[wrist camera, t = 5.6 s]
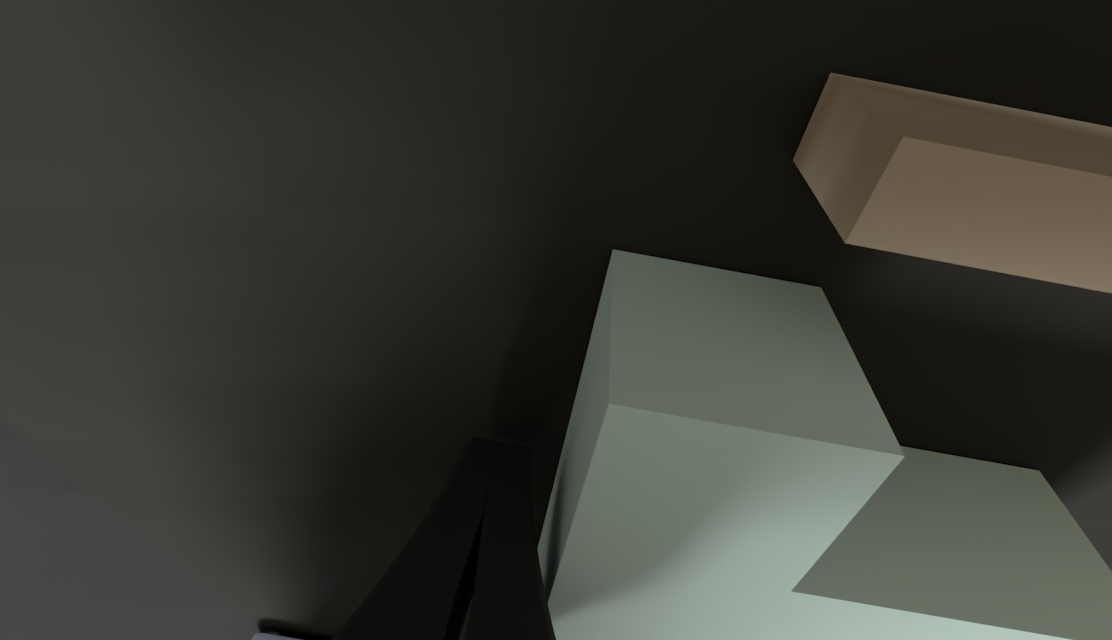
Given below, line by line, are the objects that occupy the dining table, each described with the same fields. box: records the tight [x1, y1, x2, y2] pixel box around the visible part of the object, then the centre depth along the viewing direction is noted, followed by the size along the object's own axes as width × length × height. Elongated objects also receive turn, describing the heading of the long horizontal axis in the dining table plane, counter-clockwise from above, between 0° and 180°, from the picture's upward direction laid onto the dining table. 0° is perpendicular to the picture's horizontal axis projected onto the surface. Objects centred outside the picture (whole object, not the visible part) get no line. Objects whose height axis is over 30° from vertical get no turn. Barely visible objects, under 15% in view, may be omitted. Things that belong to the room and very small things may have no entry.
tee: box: [538, 249, 1112, 640], centre depth 11 cm, size 10×10×4 cm
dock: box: [793, 73, 1112, 293], centre depth 12 cm, size 16×13×2 cm
